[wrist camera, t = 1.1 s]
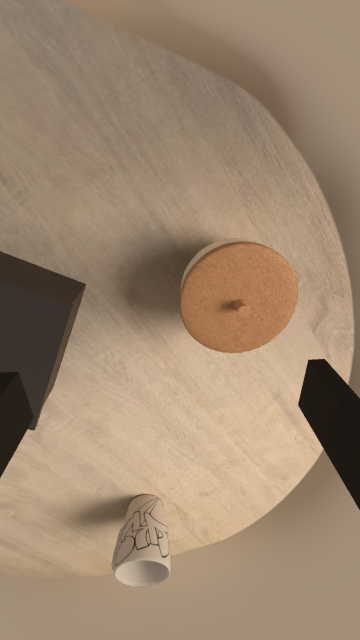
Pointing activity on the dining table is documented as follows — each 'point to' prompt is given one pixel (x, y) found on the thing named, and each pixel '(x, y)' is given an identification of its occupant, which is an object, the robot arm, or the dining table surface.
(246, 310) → the lidded bowl
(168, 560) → the mug
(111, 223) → the dining table surface
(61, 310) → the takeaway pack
